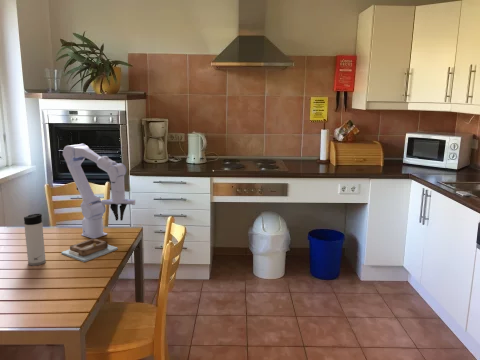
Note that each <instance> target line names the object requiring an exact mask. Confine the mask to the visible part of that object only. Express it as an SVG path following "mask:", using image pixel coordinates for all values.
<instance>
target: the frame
mask: <svg viewBox="0 0 480 360" xmlns="http://www.w3.org/2000/svg"><path fill="white" fill-rule="evenodd" d="M108 245H109V244H108V241H104V240H101V239H98V238H90V239H87V240H85V241H84V240H83V241H81V242H78V243H76V244H73V245H70V246H69V249H70V250H72V251H74V252H77V253H79V255H81V256H87V255H89V254H92V253H95V252H97V251H100V250H103V249H105V248H108Z"/></svg>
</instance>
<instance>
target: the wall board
mask: <svg viewBox="0 0 480 360" xmlns="http://www.w3.org/2000/svg"><path fill="white" fill-rule="evenodd" d="M118 248H119V247H117V246H114V245H111V244H108V248H105V249H103V250H100V251H97V252H95V253H92V254H89V255H87V256H81V255H79V253H77V252H74V251H72V250H70V248H69V249H67V250H63V251H61V255H63V256H67V257H69V258H72V259H74V260H78V261H81V262H82V263H85V262H88V261H91V260H93V259H96V258H99V257H101V256H104V255H106V254H110V253H112V252H115V251H117V250H118Z"/></svg>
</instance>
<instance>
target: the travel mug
mask: <svg viewBox="0 0 480 360" xmlns="http://www.w3.org/2000/svg"><path fill="white" fill-rule="evenodd" d="M42 216H43V215H42V213H32V214H29V215H27V216H24V217H23V221H24V223H23V224H24V233H25V246H26V254H27V256H26V257H27V264H28V266H32V267H33V266H40V265H41V266H42V265H43V264H44V263H46V261H47V260H46V252H45V251H46V250H45V238H44V228H43V227H44V225H43V220H42V219H43V217H42Z"/></svg>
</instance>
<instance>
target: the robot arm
mask: <svg viewBox="0 0 480 360" xmlns="http://www.w3.org/2000/svg"><path fill="white" fill-rule="evenodd" d="M62 156H63V158H64V161H65V164H66V166H67V168H68V170H69V173H70V175H71V177H72V179H73V182H74V184H75V185H76V187H77V189H78V192H79V194H80V196H81V198H82V202H81V203H80V208H81V213H82V216H83V218H82V222H81V227H82V233H81V234H80V235H81V236H83V237H87V238H90V239H93V238H95V239H98V238H101V237H103V236H107V235H108V233H107V232H104V222H103V217H104V214H105V213H106V211H107V208H106V205H110V206H109V207H110V209H111V211H112V213H113V215H114V217H115V221H118V220H119V219H120V221H123V219H124V215H125V210H126V208H127V205H132V206H135V205H136V199H129V198H128V199H127V198H126V194H125V193H126V192H125V190H126V189H125V176H126V174H127V171H128V170H127V167H126V165H125V164H124V163H122V162H119V163H118V162H117V161H115V160H112V159H111V158H109V156H107V155H102V156H101V155H99V154H98V153H96V152H95V151H93V150H92V149H91V148H90V147H89V146H88V145H86V144H85V143H79V144H78V143H77V144H71V145H69V144H67V145H65V146H64V148H63V151H62ZM85 159H87V160H89V161H92V162H94V163H95V164H96V166H97V168H99V169H100V170H102V171H104V172H105V173H107V176H108V177H109V181H110V190H111V199H110V198H109V199H102V200H101V198H100V197H98V196H96V195H95V194H94V192H93V189H92V187H91V185H90V183H89V181H88V178H87V177H86V174H85V172H84V169H83V168H82V163H83V162H84V161H85ZM119 215H120V216H119ZM119 217H120V218H119Z"/></svg>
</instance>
